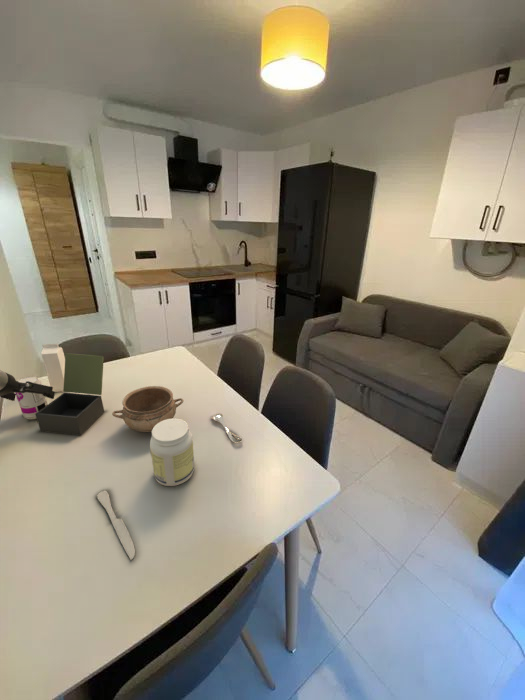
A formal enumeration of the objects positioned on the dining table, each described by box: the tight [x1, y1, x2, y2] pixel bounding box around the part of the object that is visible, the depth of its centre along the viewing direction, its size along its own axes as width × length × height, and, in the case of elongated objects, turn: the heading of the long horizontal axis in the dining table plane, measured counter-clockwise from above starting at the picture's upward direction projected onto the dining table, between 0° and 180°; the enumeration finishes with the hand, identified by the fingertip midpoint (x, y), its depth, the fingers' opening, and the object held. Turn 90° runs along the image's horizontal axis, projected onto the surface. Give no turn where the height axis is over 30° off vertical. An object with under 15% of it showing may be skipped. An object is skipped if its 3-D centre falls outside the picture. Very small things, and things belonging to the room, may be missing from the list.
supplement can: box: [15, 375, 49, 420], centre depth 112 cm, size 8×8×15 cm
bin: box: [35, 392, 105, 436], centre depth 110 cm, size 14×15×8 cm
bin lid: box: [62, 352, 105, 396], centre depth 115 cm, size 15×15×1 cm
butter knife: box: [96, 490, 136, 560], centre depth 75 cm, size 1×24×3 cm
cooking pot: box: [111, 385, 184, 433], centre depth 109 cm, size 25×19×12 cm
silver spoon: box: [210, 412, 243, 443], centre depth 110 cm, size 20×4×5 cm
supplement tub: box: [149, 417, 196, 487], centre depth 88 cm, size 12×12×17 cm
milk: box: [40, 343, 65, 393], centre depth 128 cm, size 6×6×22 cm
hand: (34, 396), depth 113 cm, fingers open, 13 cm apart
